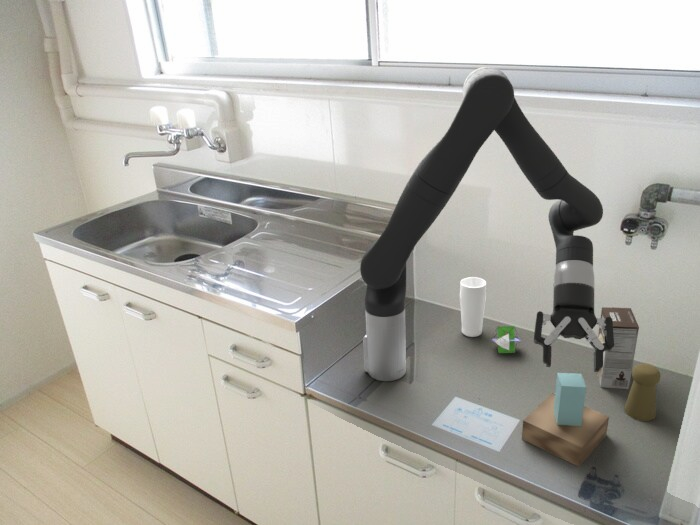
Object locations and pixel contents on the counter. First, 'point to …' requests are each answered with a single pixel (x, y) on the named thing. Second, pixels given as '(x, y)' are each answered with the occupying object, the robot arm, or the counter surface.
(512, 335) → the geometric puzzle
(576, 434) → the walnut block
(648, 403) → the cork
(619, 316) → the coffee box
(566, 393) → the teal block
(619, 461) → the counter surface
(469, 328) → the drinking glass
